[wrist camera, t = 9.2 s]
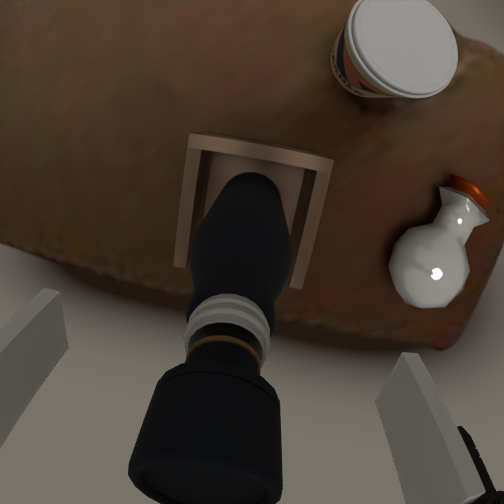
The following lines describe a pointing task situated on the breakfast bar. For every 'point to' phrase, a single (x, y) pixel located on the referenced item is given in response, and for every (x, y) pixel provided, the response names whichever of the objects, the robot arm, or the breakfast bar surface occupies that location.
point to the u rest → (263, 162)
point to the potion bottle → (439, 248)
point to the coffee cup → (394, 50)
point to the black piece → (223, 362)
